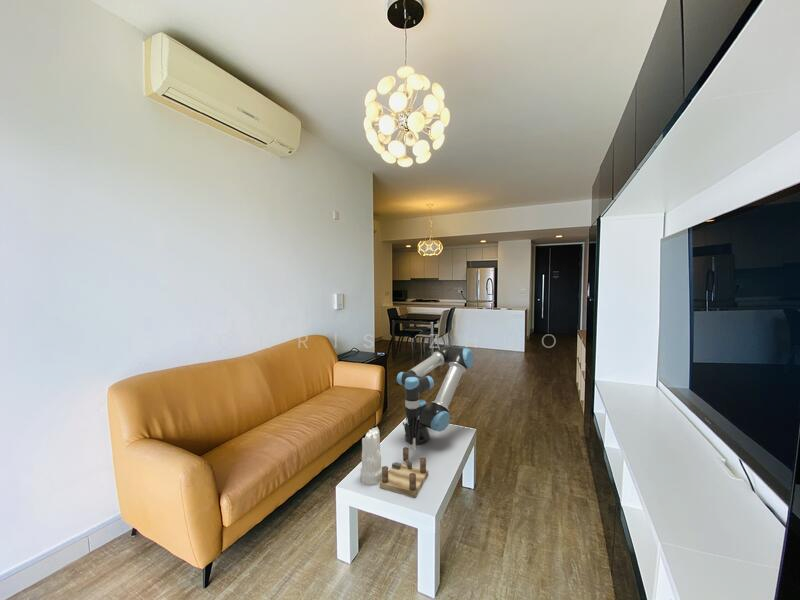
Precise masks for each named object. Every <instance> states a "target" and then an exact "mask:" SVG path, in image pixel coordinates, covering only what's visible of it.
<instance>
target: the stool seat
mask: <svg viewBox="0 0 800 600" xmlns="http://www.w3.org/2000/svg"><path fill="white" fill-rule="evenodd" d="M428 477H429V469H427V458H426V457H424V456H421V457H420V458H419V467H418V466H417V467H416V466H414V465H412V468H411V469H409V468H408V466H407V464H406V463H405V464H404V463H400V462H397V461H395V462H392V463H391V468H390V469H389V467H388V466H386V465H383V466H382V480H381V481H380V482H379V488H380V489H382V490H385V491H386V490H387V491H390V492H393V493H397V494H401V495H405V496H408V497H412V498H416V497H417V496H418V494H419V492H420V490H421V489H422V487H423V485H424V483H425V481H426V480H427V478H428Z"/></svg>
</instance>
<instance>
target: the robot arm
mask: <svg viewBox="0 0 800 600" xmlns="http://www.w3.org/2000/svg"><path fill="white" fill-rule="evenodd" d="M474 362H475V358H474V353H473V351H472V349H469V348H466V347H464V348H463V347H458V346H454V345H453V346H451V345H449V346H448V345H447V346H444V347H441V348H439V349H437V350H436V351H434V352H433V353H432V354H431V356H429V357H427V358H426V359H424V360H423V361H421V362H420V363H419V364H416V366H414V367H412V368H411V369H409V370H407V371H406V372H405V371H400V372H398V373H397V376H396V383H398V384H399V385H400V386H403V387H404V398H405V399H404V404H405V405H404V407H405V408H404V411H405V415H406V418H405V421H403V422H402V425H403V427H404V431H405V433H404V440H405V441H406V442H407V443H408V444H409V449H410V450H411V451H413V452H415V451H416V445H418V446H419V445H423V444H427V443H428V442H429V441H430V436H431V435H430V432H429V430H428V429H431V430H433V431H436V432H442V431H445V430H446V429H447V428H448V426H449V424H450V421H451V420H450V419H451V415H450V409H449V406H450V404H451V402H452V399H453V397H454V395H455V391H456V390H457V387H458V384H459V382H460V380H461V377H462V375H463V374H464V373H466V372H467V370H468V369H470V368H472V367H473V366H474ZM445 364H447V365H448V366H449V367H448V370H447V373H446V374H445V377H444V379H443V381H442V384H441V386H440V387H439V390H438V393H437V394H436V396H435V397H436V398H435V399H434V401H431V402H430V404H429V405H427V401H426V400H424V399H420V394H422V393H425V392H427V391H430V390H431V389H433V388H434V385H435V384H434V383H435V381H434V379H433V378H432V377H431V376H430V375H427V374H428V373H430V372H431V371H432V370H434V369H436V368H437V367H438V366H443V365H445Z"/></svg>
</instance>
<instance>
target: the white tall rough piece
mask: <svg viewBox="0 0 800 600" xmlns="http://www.w3.org/2000/svg"><path fill="white" fill-rule="evenodd" d="M380 437H381V436H380V429H379V427H378V426H376V427H373V428H371V429H368V431H367V432H366V434H365V437H362V439H361V446H362V447H361V449H362V451H361V468H360V482H361V483H363V484H364V485H367V486H375V485H377V484H380V481H381V480H382V467H383V466H382V455H381V449H380V448H381V438H380Z"/></svg>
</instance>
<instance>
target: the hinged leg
mask: <svg viewBox="0 0 800 600" xmlns="http://www.w3.org/2000/svg"><path fill="white" fill-rule="evenodd" d="M409 449H410V448H408V446H406V447H403V448H402V460H403V462H404V463H405V465H407V466H408V468H409V469H411V468H412V466H413V463H412V461H410V459H409V457H410V455H409V452H410V451H409Z"/></svg>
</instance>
